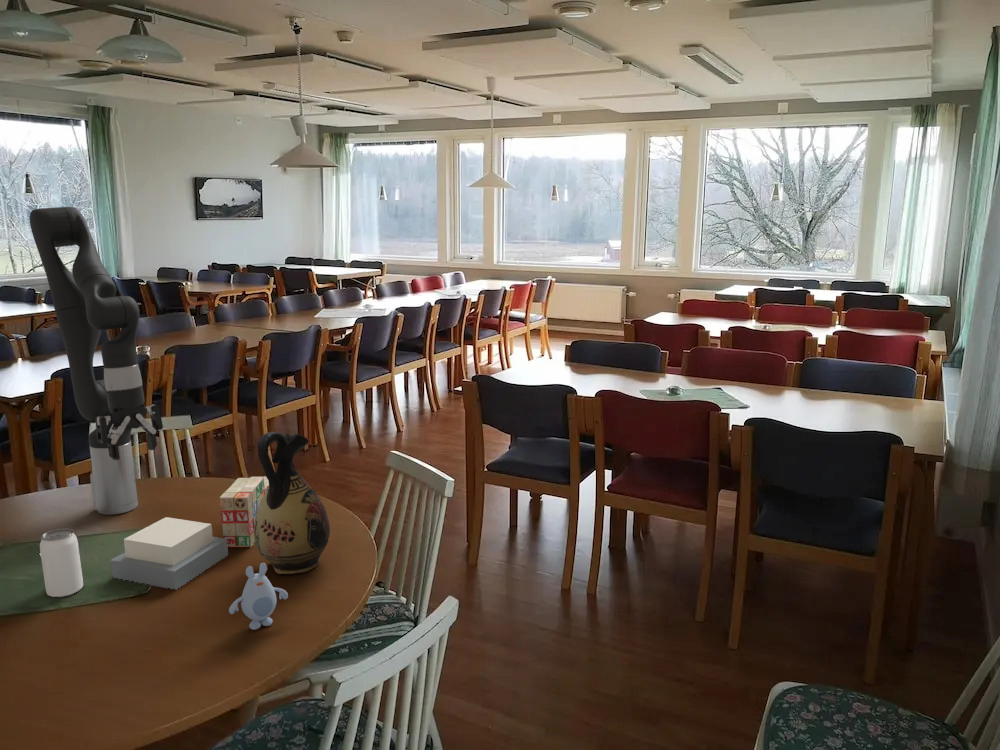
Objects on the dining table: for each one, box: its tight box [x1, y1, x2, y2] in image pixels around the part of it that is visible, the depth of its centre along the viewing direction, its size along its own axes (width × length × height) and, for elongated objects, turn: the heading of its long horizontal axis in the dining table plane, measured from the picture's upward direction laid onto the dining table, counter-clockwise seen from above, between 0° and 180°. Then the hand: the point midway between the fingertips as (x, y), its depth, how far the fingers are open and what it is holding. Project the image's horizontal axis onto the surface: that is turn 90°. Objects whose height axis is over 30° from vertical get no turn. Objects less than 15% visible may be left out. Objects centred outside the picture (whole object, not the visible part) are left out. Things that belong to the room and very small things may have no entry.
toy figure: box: [228, 562, 289, 631], centre depth 138 cm, size 11×6×12 cm, turn 123°
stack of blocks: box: [219, 475, 269, 548], centre depth 181 cm, size 21×6×12 cm, turn 0°
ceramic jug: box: [254, 431, 331, 575], centre depth 159 cm, size 17×15×30 cm
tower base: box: [110, 516, 229, 591], centre depth 162 cm, size 16×16×8 cm
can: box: [39, 527, 84, 598], centre depth 151 cm, size 6×6×12 cm
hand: (134, 454), depth 176 cm, fingers open, 8 cm apart
